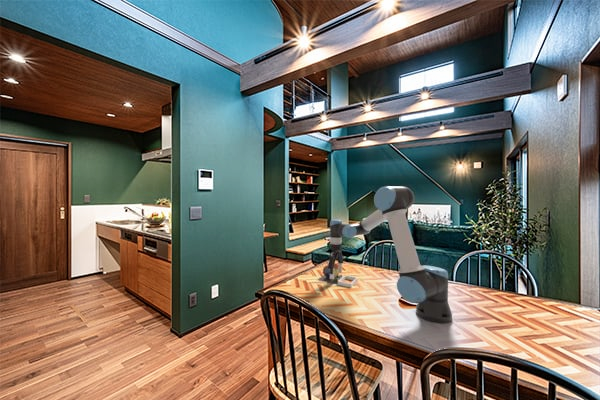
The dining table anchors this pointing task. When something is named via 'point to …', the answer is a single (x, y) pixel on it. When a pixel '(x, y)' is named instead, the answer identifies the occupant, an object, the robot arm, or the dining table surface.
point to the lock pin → (336, 272)
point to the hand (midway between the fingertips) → (335, 275)
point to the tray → (346, 282)
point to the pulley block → (328, 276)
